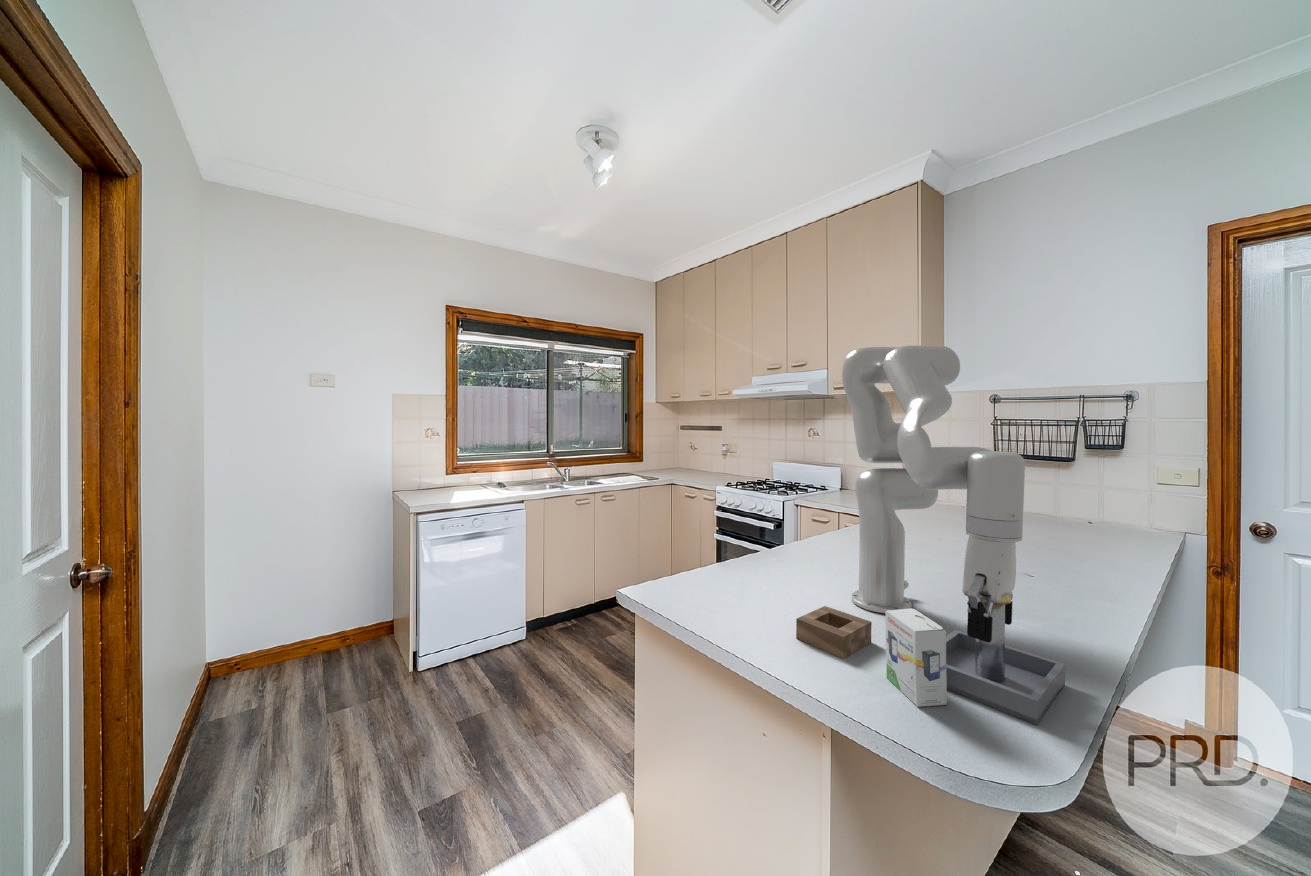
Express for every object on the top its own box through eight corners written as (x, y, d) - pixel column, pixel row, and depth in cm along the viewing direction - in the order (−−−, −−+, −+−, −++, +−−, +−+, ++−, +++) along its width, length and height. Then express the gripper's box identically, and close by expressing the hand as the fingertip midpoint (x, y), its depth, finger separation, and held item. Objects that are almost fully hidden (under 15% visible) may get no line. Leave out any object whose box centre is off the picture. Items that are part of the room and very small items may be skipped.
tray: (954, 647, 89) (955, 629, 89) (1064, 685, 77) (1065, 664, 77) (917, 676, 79) (917, 656, 79) (1036, 725, 67) (1037, 701, 67)
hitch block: (824, 624, 99) (824, 605, 99) (871, 642, 92) (871, 621, 91) (796, 638, 93) (796, 618, 93) (843, 658, 85) (843, 636, 85)
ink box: (948, 706, 71) (949, 629, 71) (915, 708, 71) (916, 631, 70) (912, 675, 80) (913, 606, 79) (883, 677, 79) (884, 607, 79)
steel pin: (976, 663, 82) (976, 583, 81) (1015, 676, 78) (1015, 592, 77) (964, 674, 78) (963, 591, 78) (1004, 689, 74) (1004, 601, 74)
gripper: (985, 516, 85) (982, 609, 86) (946, 531, 75) (943, 637, 75) (1037, 523, 79) (1033, 623, 80) (1003, 541, 69) (999, 656, 70)
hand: (989, 629), depth 78 cm, fingers open, 9 cm apart
